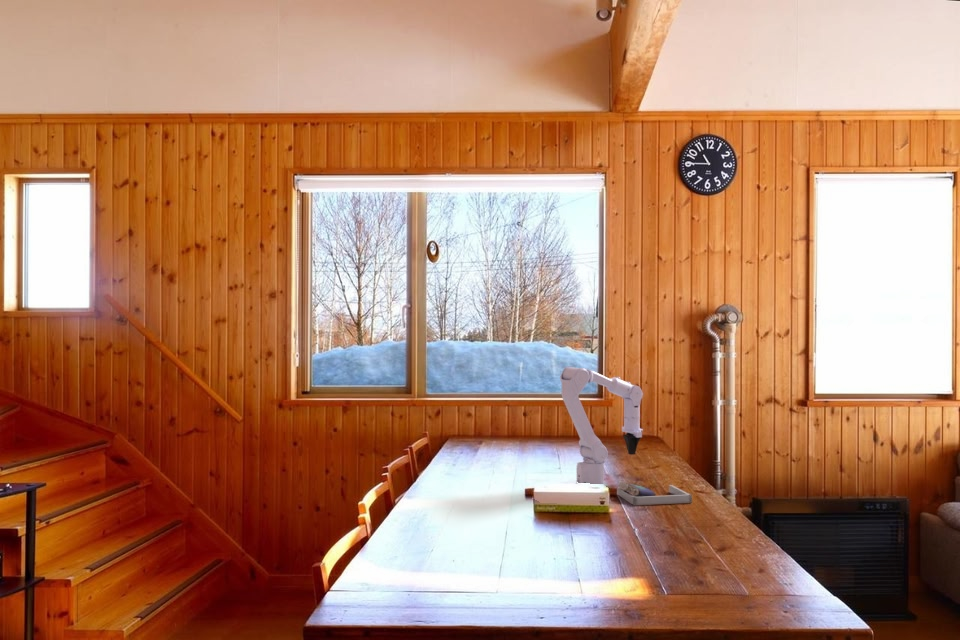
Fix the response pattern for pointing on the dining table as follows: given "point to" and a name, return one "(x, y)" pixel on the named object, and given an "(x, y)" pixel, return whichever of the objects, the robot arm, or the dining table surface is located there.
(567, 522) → the dining table surface
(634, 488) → the flask
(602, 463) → the robot arm
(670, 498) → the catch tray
